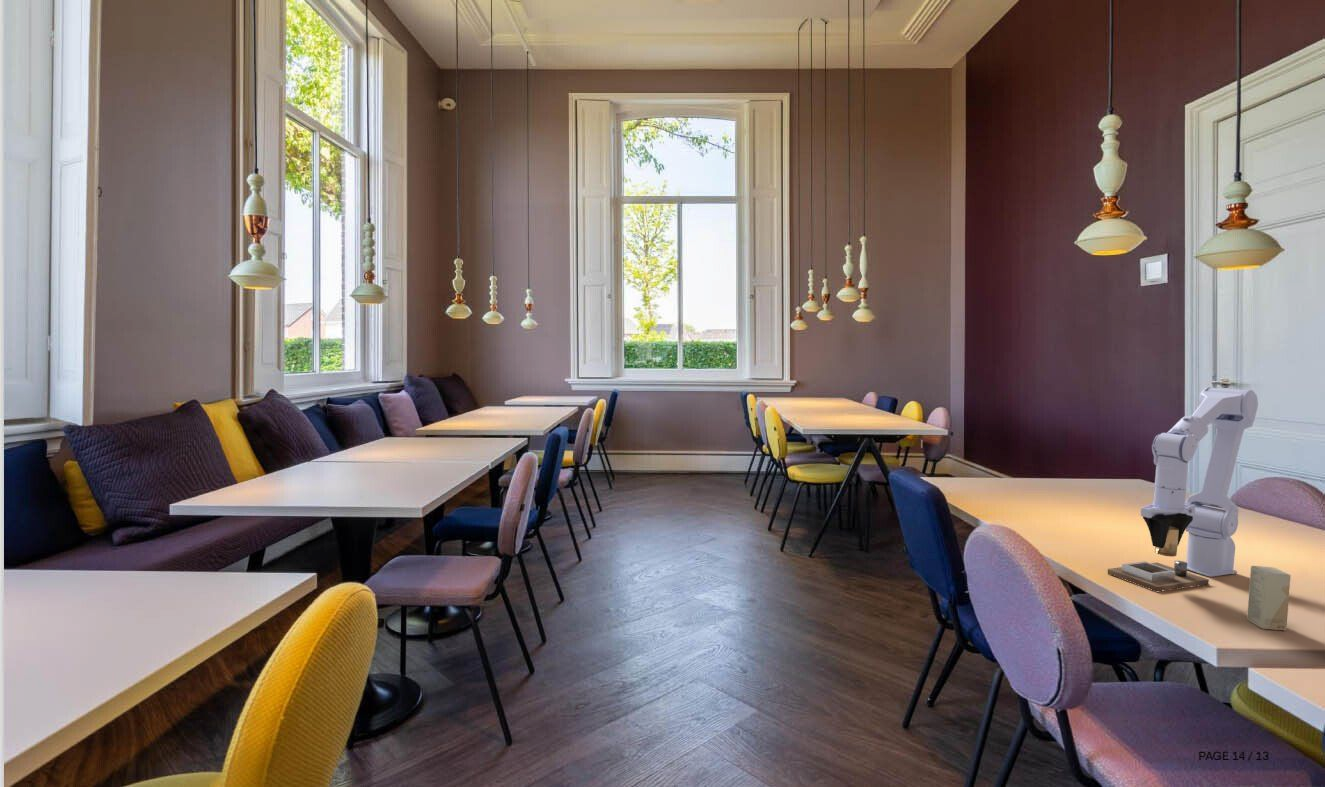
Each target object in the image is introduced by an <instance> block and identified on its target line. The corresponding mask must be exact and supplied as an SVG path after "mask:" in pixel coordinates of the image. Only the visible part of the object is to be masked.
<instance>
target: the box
mask: <svg viewBox="0 0 1325 787" xmlns="http://www.w3.org/2000/svg"><path fill="white" fill-rule="evenodd" d="M1291 578H1292V577H1291V574H1289V573H1287V572H1285V571H1283V570H1281V569H1278V568H1277V567H1273V566H1261V565H1251V566H1250V574H1249V588H1248V601H1247V602H1248V603H1247V604H1248V605H1247V616H1246V617H1247V618H1246V619H1247V620H1248V621H1249V622H1251V623H1252V624H1254V625H1256V626H1257V627H1259V628H1261V629H1262V630H1263V629H1266V630H1276V631H1287V626H1288V613H1289V600H1290V588H1291Z"/></svg>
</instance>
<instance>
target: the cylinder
mask: <svg viewBox="0 0 1325 787" xmlns="http://www.w3.org/2000/svg"><path fill="white" fill-rule="evenodd" d="M1178 535H1179V529H1178V528H1176V527H1172V526H1170V527H1169V530H1168V532H1167V536H1166V542H1165V546H1164V548H1159V547H1155V546H1154V553H1155V554H1156V555H1157V554H1158V555H1160V556H1164V557H1172V558H1173V557H1176V556H1177V554H1178V546H1179V545H1178ZM1177 545H1178V546H1177Z"/></svg>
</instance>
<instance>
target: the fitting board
mask: <svg viewBox="0 0 1325 787" xmlns="http://www.w3.org/2000/svg"><path fill="white" fill-rule="evenodd" d="M1187 564H1188V563H1186V561H1182V560H1174V565H1173V566H1174V567H1172V566H1169V565H1165V564H1163V563H1159V562H1148V561H1146V560H1143V561H1136V562H1128V563H1122V565H1121V567H1119V566H1118V567H1113V568H1108V569H1107V573H1108V575H1109V574H1111V575H1110V576H1112V575H1115V576H1117V577H1120V578H1123V579H1126V580H1128V581H1131V582H1134V583H1136V584H1139V585H1142V586H1144V587H1147V588H1150V589H1152V590H1151V591H1153V590H1155V591H1162V590H1168V591H1170V590H1169V589H1175V590H1178V589H1177V588H1182V587H1189V588H1191V587H1190V586H1195V587H1199V586H1198V585H1202V586H1206V585H1205V584H1208V585H1209V579H1208V578H1206V577H1202V576H1199V575H1197V574H1192V573H1191V572H1188V570H1187ZM1115 576H1114V577H1115ZM1117 577H1116V578H1117ZM1120 578H1119V579H1120ZM1123 579H1122V580H1123ZM1126 580H1125V581H1126ZM1128 581H1127V582H1128ZM1131 582H1130V583H1131ZM1134 583H1133V584H1134ZM1136 584H1135V585H1136ZM1139 585H1138V586H1139ZM1142 586H1141V587H1142ZM1144 587H1143V588H1144ZM1147 588H1146V589H1147ZM1150 589H1149V590H1150ZM1182 589H1183V588H1182ZM1155 591H1154V592H1155ZM1162 592H1163V591H1162Z"/></svg>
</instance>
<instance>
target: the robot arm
mask: <svg viewBox="0 0 1325 787" xmlns="http://www.w3.org/2000/svg"><path fill="white" fill-rule="evenodd" d="M1258 407H1259V402H1258V395H1257V394H1256V393H1255V391H1254V390H1252V389H1246V390H1245V389H1234V388H1233V389H1231V388H1219V387H1211V386H1206V387H1204V389H1202V390H1201V391H1200V393H1199V396H1198V406H1197V408H1196V409H1195V411H1194V412H1193V413H1192V414H1191V415H1184V416H1183V417H1182V418H1180V419H1179V420H1178V421H1177V422H1176V423H1175V424H1174V425H1173V426H1172V428H1170V429H1169V430H1168V431H1167V432H1161V433H1160V434H1159V433H1158V434H1157V435H1156V436H1155V437H1154V439H1153V441H1152V444H1151V451H1152V455H1153V464H1154V465H1155V477H1154V490H1153V502H1152V503H1151V504H1149V505H1145V506H1141V507H1140V517H1142V519H1143V520H1144V522H1145V523H1146V526H1147V529H1148V530H1149V534H1150V537H1151V543H1152V546H1153V547H1154V548H1155V547H1159V548H1164V546H1165V542H1166V536H1167V532H1168V530H1169V527H1170V526H1172V527H1176V528H1178V529H1179V535H1178V545H1177V547H1178V546H1179V544H1180V543H1181V539H1182V537H1183V535H1184V533H1185V532H1187V533H1188V536H1187V537H1188V538H1187V546H1186V548H1187V549H1186V561H1185V562H1186V563H1188V564H1187V571H1191V572H1194V573H1197V574H1199V575H1203V576H1207V577H1210V578H1211V577H1219V576H1226V575H1233V574H1238V570H1235V569H1234V565H1235V556H1236V555H1235V553H1236V544H1235V542H1234V539H1233V538H1232V536H1233V535H1234V534H1236V532H1237V529H1238V526H1239V512H1240V510H1239V507H1238V506H1237V504H1236V503H1235V502H1234V501H1232V499H1230V498H1229V497H1228V493H1229V489H1230V485H1231V482H1232V479H1233V478H1232V477H1233V474H1234V471H1235V465H1236V462H1237V458H1238V455H1239V454H1238V453H1239V450H1240V447H1241V442H1242V438H1243V434H1244V431H1245V430H1246V429H1249V428H1251V427H1252V428H1253V424H1254V422H1255V419H1256V415H1257V411H1258ZM1210 424H1211V425H1213V426H1215V428H1216V432H1215V436H1214V440H1213V444H1212V448H1211V452H1210V457H1209V460H1208V464H1207V468H1206V472H1205V475H1204V478H1203V483H1202V488H1201V491H1199V492H1196V493H1193V494H1190V495H1189V496H1188V497H1187V499H1186V492H1187V481H1188V469H1189V461H1191V460H1192V459H1193V458H1194V456H1195V452H1196V450H1197V448H1198V443H1200V441H1201V440H1203V438H1205V436H1207V434H1208V433H1209V426H1208V425H1210Z"/></svg>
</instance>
